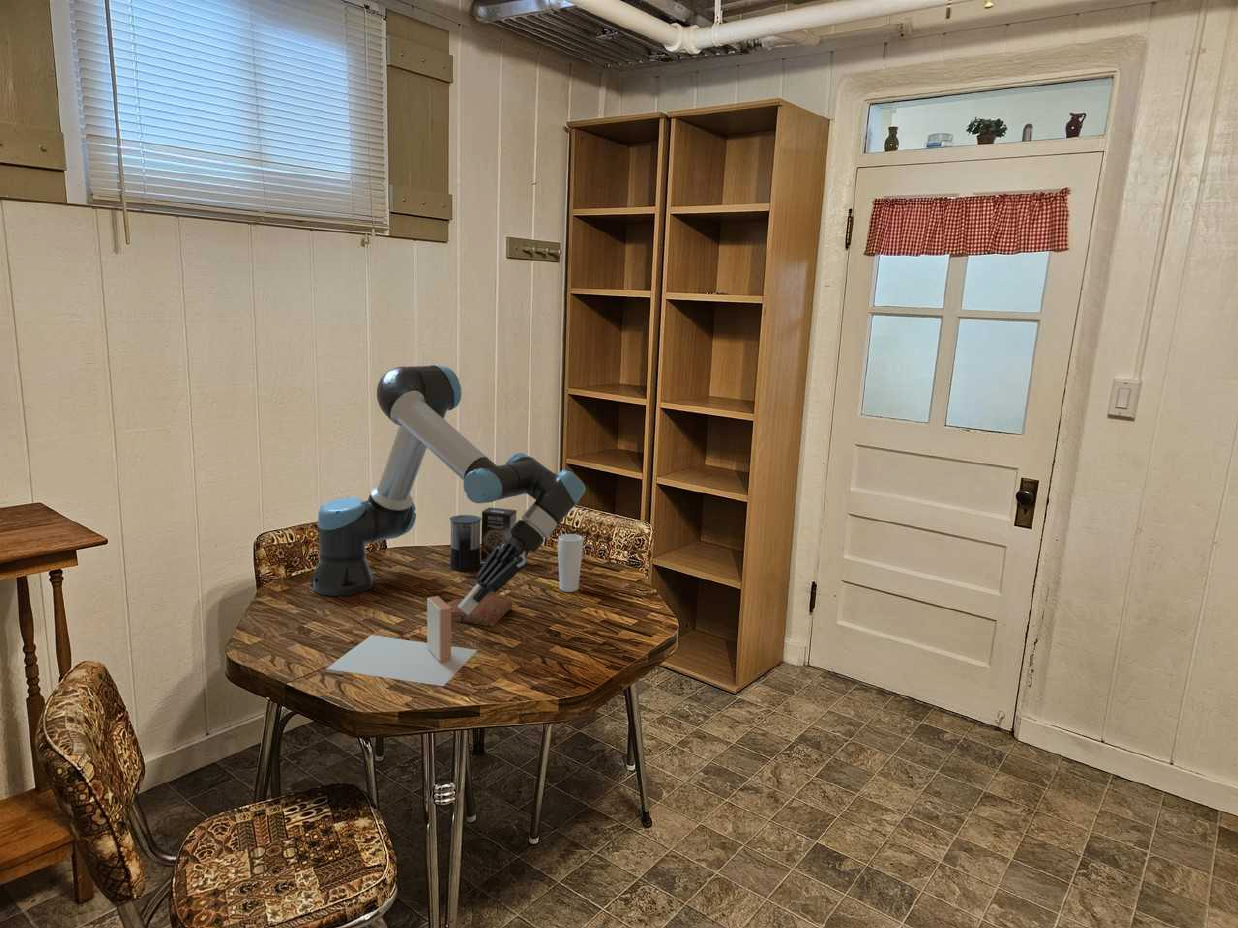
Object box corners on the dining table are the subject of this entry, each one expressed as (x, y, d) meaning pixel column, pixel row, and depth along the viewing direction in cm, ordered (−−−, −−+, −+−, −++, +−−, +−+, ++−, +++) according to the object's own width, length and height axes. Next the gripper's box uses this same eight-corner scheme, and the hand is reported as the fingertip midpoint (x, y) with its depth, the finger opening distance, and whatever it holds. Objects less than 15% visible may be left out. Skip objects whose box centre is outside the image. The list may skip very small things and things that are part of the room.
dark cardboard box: (480, 563, 236) (480, 511, 233) (487, 557, 242) (488, 506, 239) (509, 566, 234) (510, 514, 231) (515, 560, 240) (516, 509, 237)
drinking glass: (561, 594, 213) (563, 541, 210) (553, 586, 219) (554, 534, 216) (584, 592, 215) (586, 539, 213) (576, 584, 221) (577, 533, 219)
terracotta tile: (437, 646, 175) (437, 595, 173) (450, 660, 168) (451, 608, 166) (427, 649, 173) (426, 597, 171) (439, 663, 167) (439, 609, 165)
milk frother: (445, 563, 234) (445, 515, 232) (496, 558, 241) (497, 511, 239) (458, 578, 222) (459, 528, 219) (511, 572, 229) (512, 523, 226)
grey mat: (326, 672, 162) (326, 668, 162) (371, 638, 180) (371, 635, 179) (443, 689, 157) (443, 686, 157) (477, 653, 174) (477, 649, 174)
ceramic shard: (461, 583, 203) (515, 598, 201) (456, 607, 204) (510, 622, 201) (438, 595, 189) (496, 611, 186) (433, 621, 189) (491, 637, 187)
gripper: (556, 546, 174) (485, 630, 169) (530, 531, 185) (462, 610, 179) (535, 526, 171) (462, 611, 165) (510, 512, 181) (440, 591, 175)
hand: (462, 610), depth 172 cm, fingers closed
